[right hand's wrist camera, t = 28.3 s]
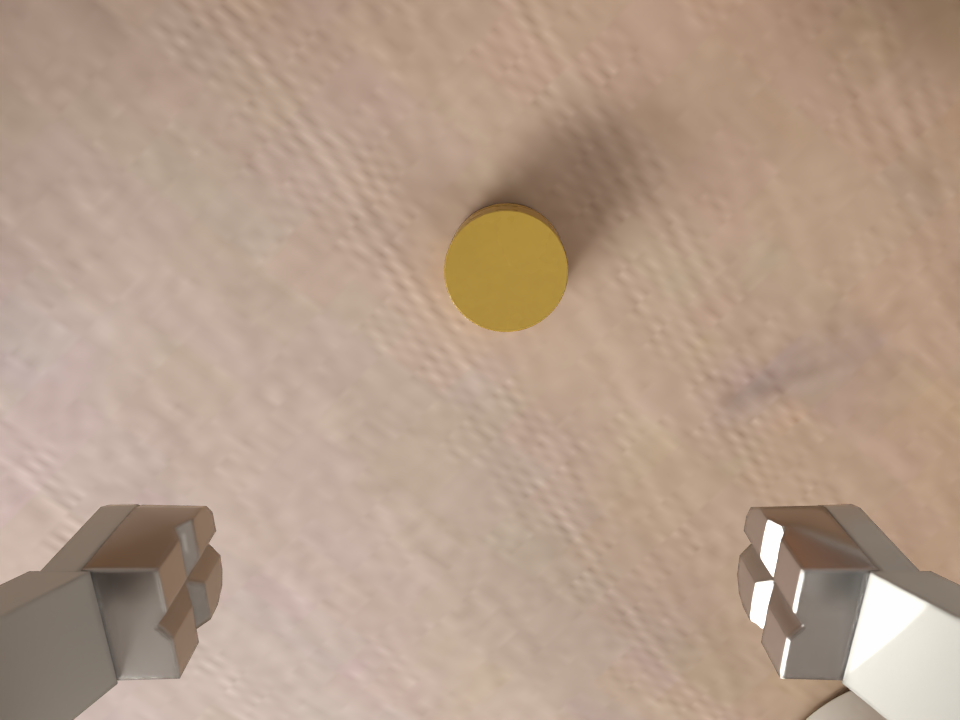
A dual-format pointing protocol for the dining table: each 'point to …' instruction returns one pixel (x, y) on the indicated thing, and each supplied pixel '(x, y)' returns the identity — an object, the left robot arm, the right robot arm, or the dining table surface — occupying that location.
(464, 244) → the lid
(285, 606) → the dining table surface
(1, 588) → the right robot arm
